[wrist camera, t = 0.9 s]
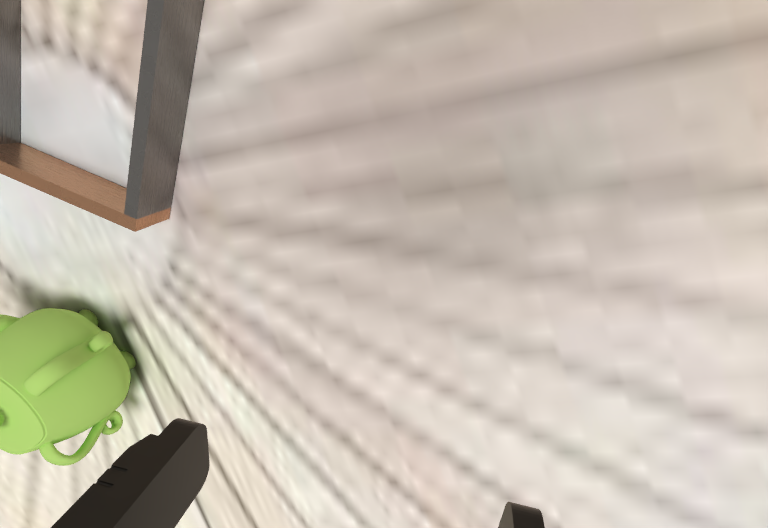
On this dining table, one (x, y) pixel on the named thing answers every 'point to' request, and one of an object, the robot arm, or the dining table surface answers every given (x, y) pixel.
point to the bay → (151, 125)
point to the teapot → (59, 382)
